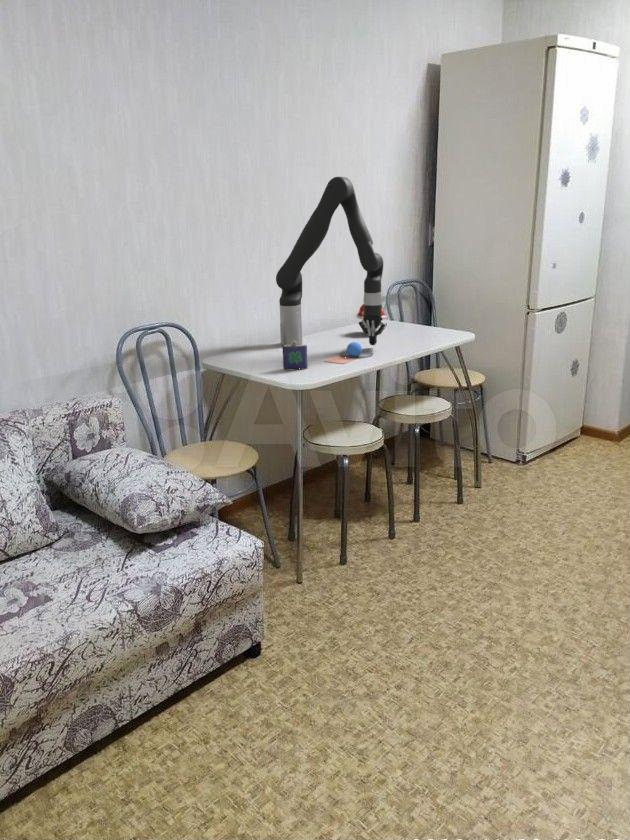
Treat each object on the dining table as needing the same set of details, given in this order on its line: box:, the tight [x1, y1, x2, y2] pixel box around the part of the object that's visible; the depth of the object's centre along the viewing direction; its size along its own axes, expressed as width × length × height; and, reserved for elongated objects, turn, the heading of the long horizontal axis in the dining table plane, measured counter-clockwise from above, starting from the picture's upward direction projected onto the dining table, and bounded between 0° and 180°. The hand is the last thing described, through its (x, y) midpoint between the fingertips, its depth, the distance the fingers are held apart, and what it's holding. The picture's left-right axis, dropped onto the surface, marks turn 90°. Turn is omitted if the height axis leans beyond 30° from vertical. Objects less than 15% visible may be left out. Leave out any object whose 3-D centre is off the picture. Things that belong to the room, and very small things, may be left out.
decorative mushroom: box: [355, 303, 387, 336], centre depth 324 cm, size 14×14×15 cm
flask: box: [282, 341, 309, 370], centre depth 266 cm, size 9×3×11 cm, turn 95°
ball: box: [346, 341, 363, 357], centre depth 282 cm, size 6×6×6 cm
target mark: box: [338, 349, 374, 359], centre depth 288 cm, size 14×14×1 cm
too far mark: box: [324, 356, 356, 365], centre depth 278 cm, size 9×9×1 cm
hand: (372, 344), depth 297 cm, fingers closed
